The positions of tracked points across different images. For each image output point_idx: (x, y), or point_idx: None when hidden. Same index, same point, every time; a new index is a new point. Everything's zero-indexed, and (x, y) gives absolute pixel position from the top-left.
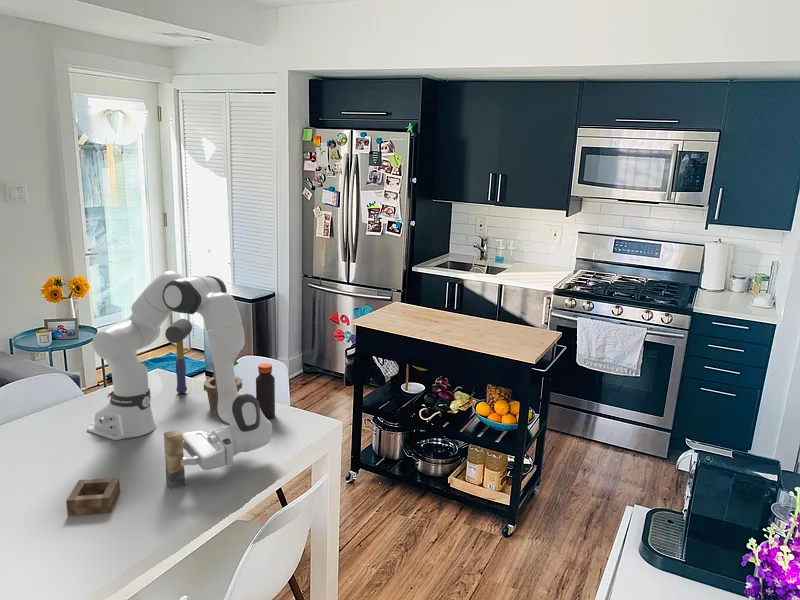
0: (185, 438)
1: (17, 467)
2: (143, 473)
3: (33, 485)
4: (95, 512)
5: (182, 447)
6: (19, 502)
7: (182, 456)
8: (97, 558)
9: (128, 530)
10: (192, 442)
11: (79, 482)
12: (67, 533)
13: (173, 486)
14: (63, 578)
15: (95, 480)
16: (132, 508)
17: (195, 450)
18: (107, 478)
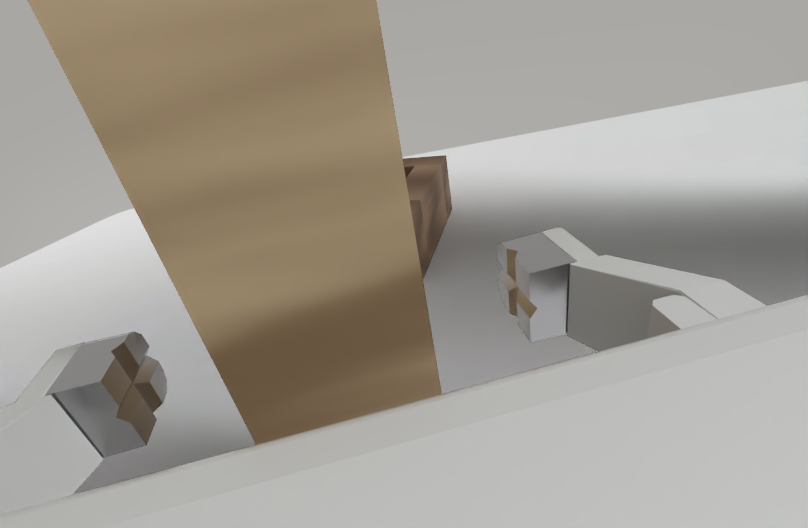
0: (786, 313)
1: (651, 117)
2: None
3: (541, 149)
4: None
5: (161, 245)
6: (458, 154)
7: (224, 368)
8: (59, 287)
9: (111, 330)
10: (514, 455)
11: (427, 159)
12: None
13: None
14: (64, 253)
15: (422, 176)
16: None
17: (2, 516)
18: (423, 193)
